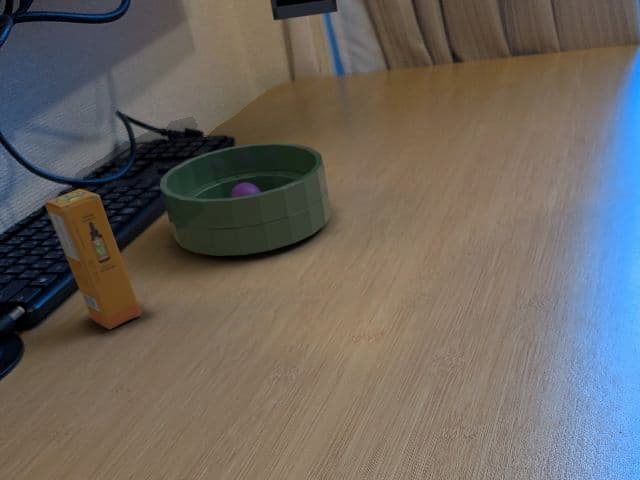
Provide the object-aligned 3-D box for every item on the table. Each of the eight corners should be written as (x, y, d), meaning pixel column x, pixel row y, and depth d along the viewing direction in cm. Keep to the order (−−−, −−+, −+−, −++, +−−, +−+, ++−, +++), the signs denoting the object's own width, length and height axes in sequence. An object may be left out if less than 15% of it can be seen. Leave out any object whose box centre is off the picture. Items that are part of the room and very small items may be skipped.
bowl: (180, 212, 85) (164, 157, 82) (324, 189, 86) (315, 134, 83) (173, 272, 74) (154, 211, 70) (338, 246, 75) (329, 184, 71)
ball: (243, 214, 78) (262, 227, 81) (256, 181, 78) (274, 195, 81) (218, 205, 79) (237, 218, 82) (230, 173, 79) (249, 187, 82)
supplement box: (123, 304, 70) (81, 184, 64) (143, 316, 68) (102, 193, 62) (88, 319, 69) (41, 198, 62) (107, 332, 67) (61, 208, 60)
